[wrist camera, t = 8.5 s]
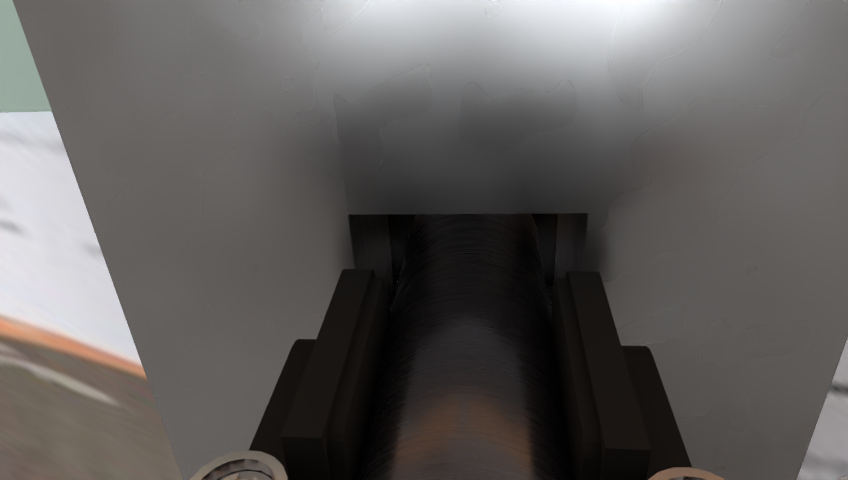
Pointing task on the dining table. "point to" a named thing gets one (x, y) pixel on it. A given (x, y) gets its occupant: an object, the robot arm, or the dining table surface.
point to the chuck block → (467, 182)
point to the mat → (18, 67)
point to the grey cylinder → (468, 359)
